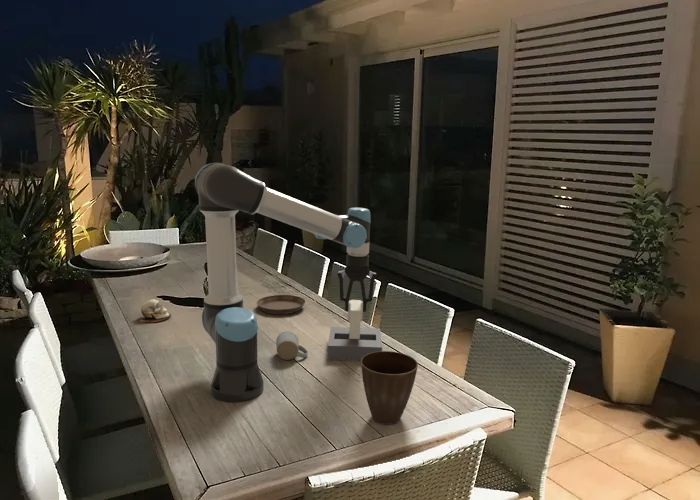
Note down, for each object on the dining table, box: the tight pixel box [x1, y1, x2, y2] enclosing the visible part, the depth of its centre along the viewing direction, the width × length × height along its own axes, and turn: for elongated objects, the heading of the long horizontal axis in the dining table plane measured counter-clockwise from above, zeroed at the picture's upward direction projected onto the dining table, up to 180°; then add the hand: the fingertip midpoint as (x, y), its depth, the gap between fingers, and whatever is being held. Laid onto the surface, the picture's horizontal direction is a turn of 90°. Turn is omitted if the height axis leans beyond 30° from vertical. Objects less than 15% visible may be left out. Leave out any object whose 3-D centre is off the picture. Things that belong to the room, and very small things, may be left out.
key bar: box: [349, 299, 362, 339], centre depth 190 cm, size 12×4×10 cm, turn 179°
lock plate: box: [327, 326, 383, 362], centre depth 192 cm, size 18×18×5 cm
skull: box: [139, 298, 172, 323], centre depth 219 cm, size 12×10×10 cm
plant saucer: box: [256, 294, 306, 315], centre depth 236 cm, size 21×21×3 cm
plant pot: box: [360, 350, 419, 425], centre depth 146 cm, size 15×15×16 cm
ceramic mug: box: [275, 330, 309, 361], centre depth 185 cm, size 11×8×8 cm
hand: (355, 320), depth 190 cm, fingers closed on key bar, 3 cm apart
